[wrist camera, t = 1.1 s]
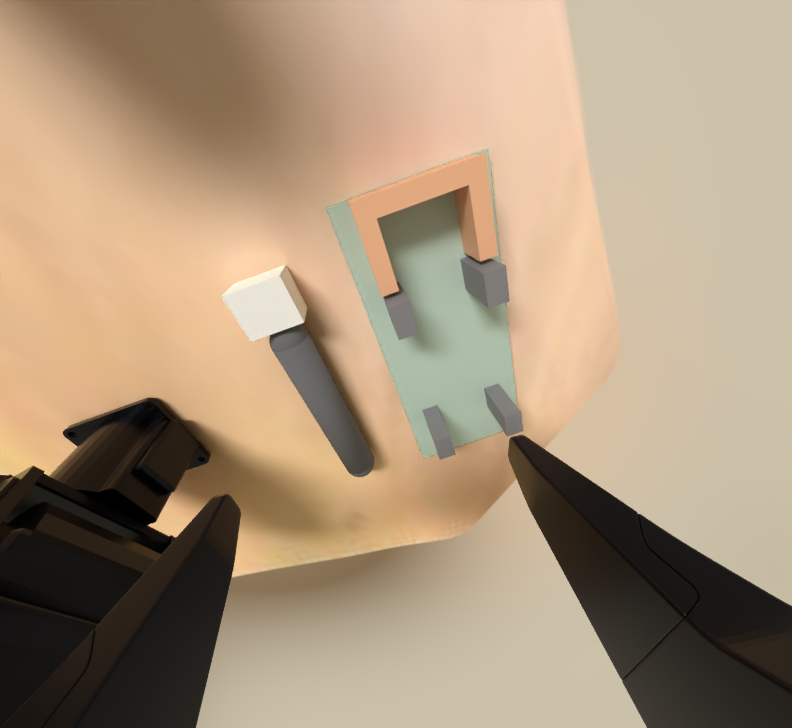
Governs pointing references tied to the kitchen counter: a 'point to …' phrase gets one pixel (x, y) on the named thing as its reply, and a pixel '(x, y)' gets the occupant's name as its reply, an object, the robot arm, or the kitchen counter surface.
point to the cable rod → (299, 358)
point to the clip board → (437, 299)
